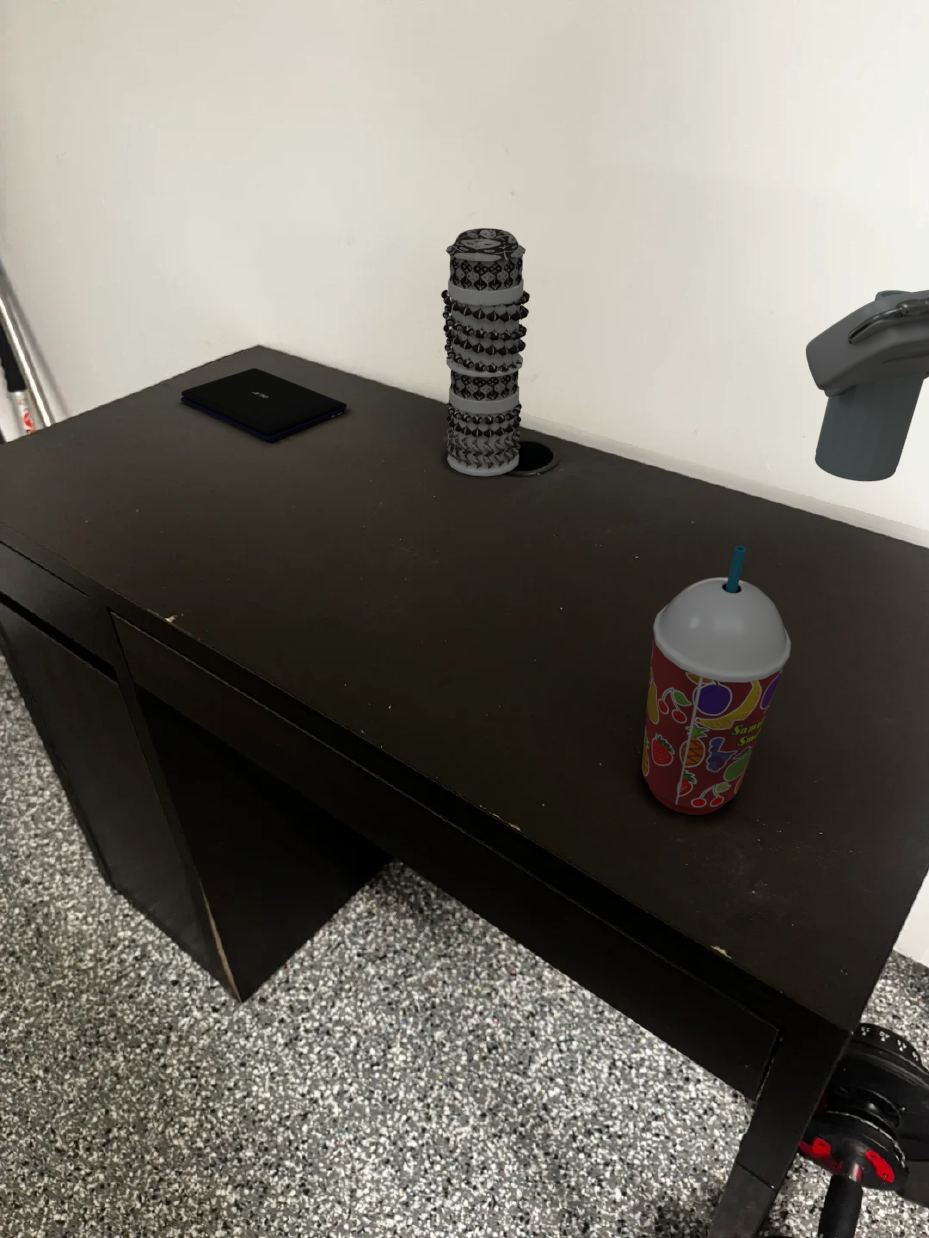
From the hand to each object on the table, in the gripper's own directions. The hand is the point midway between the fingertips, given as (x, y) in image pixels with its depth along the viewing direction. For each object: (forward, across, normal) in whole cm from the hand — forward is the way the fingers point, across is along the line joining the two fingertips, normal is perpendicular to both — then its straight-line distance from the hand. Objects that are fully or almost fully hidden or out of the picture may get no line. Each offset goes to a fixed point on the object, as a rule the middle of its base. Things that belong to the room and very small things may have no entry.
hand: (871, 380), depth 72 cm
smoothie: (+2, -25, -27) cm, 37 cm away
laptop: (+55, -41, +28) cm, 74 cm away
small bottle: (+5, 0, -6) cm, 7 cm away
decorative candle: (+39, -20, +11) cm, 45 cm away
